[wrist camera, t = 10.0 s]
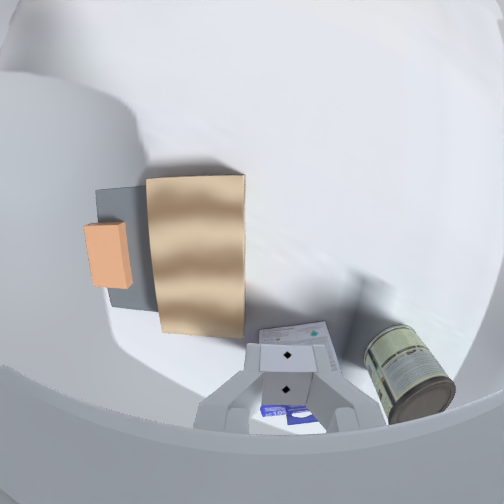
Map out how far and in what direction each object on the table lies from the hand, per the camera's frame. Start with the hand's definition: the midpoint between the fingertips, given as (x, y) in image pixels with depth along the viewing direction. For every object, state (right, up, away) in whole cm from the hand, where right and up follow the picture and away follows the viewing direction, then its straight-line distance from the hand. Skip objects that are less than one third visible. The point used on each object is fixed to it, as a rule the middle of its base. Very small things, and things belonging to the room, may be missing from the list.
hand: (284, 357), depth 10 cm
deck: (-8, +4, +25) cm, 27 cm away
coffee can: (+22, -12, +29) cm, 38 cm away
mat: (-18, +4, +26) cm, 32 cm away
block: (-21, +3, +24) cm, 32 cm away
